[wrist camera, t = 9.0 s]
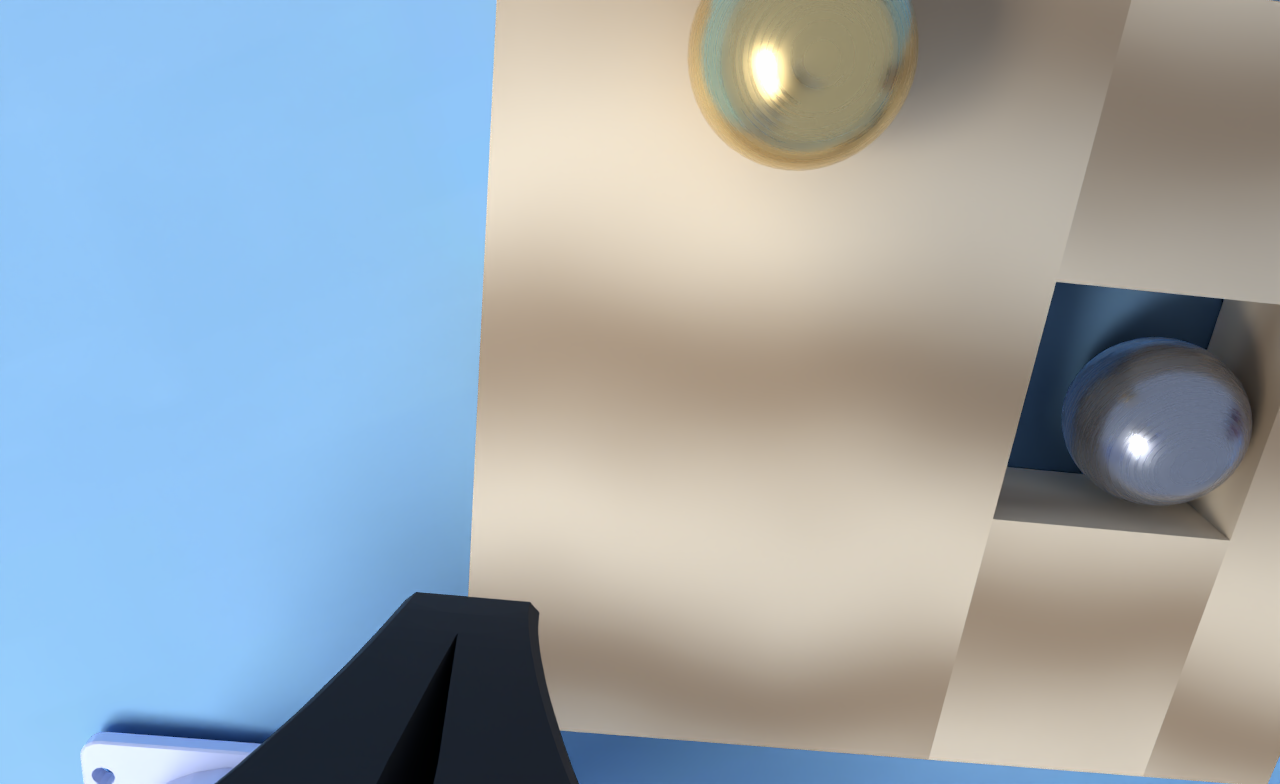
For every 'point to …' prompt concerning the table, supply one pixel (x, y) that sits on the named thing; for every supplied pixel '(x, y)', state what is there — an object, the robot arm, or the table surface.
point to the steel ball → (1157, 421)
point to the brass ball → (801, 75)
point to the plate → (878, 393)
